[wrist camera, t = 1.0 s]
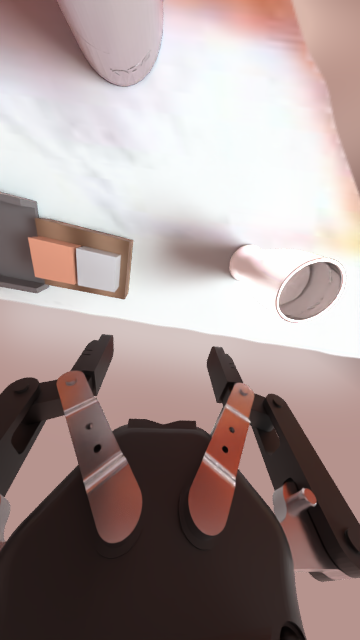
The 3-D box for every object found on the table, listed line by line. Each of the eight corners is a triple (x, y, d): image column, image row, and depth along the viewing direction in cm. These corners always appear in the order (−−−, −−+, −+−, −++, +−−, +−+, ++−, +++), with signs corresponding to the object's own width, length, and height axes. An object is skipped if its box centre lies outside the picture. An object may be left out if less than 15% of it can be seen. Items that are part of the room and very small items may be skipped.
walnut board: (133, 240, 26) (129, 241, 23) (128, 293, 30) (124, 299, 28) (49, 218, 24) (34, 217, 21) (56, 278, 28) (45, 284, 25)
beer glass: (229, 287, 31) (273, 331, 18) (223, 249, 27) (273, 269, 14) (266, 276, 30) (340, 314, 17) (265, 235, 27) (357, 244, 14)
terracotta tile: (80, 245, 23) (71, 247, 21) (82, 279, 25) (74, 284, 23) (41, 236, 22) (27, 237, 20) (46, 272, 25) (35, 276, 22)
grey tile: (120, 254, 24) (116, 257, 22) (118, 286, 26) (114, 292, 24) (84, 246, 23) (75, 248, 21) (85, 280, 26) (77, 285, 23)
